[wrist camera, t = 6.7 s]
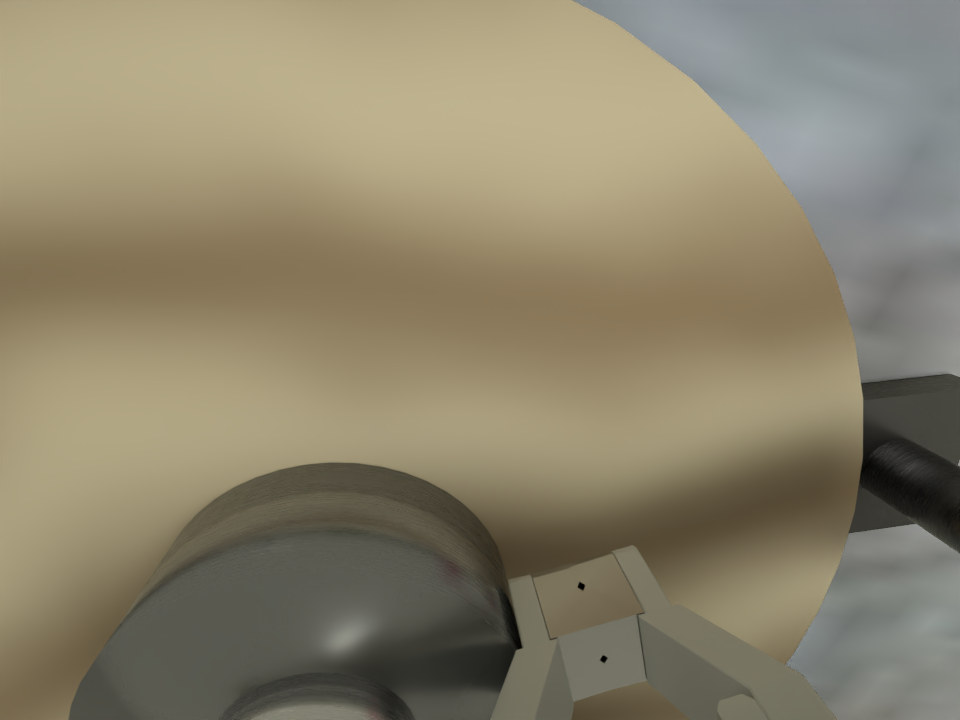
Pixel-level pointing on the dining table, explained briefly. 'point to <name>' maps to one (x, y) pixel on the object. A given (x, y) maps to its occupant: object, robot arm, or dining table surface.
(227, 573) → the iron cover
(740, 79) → the dining table surface
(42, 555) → the turntable
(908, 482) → the pointer
